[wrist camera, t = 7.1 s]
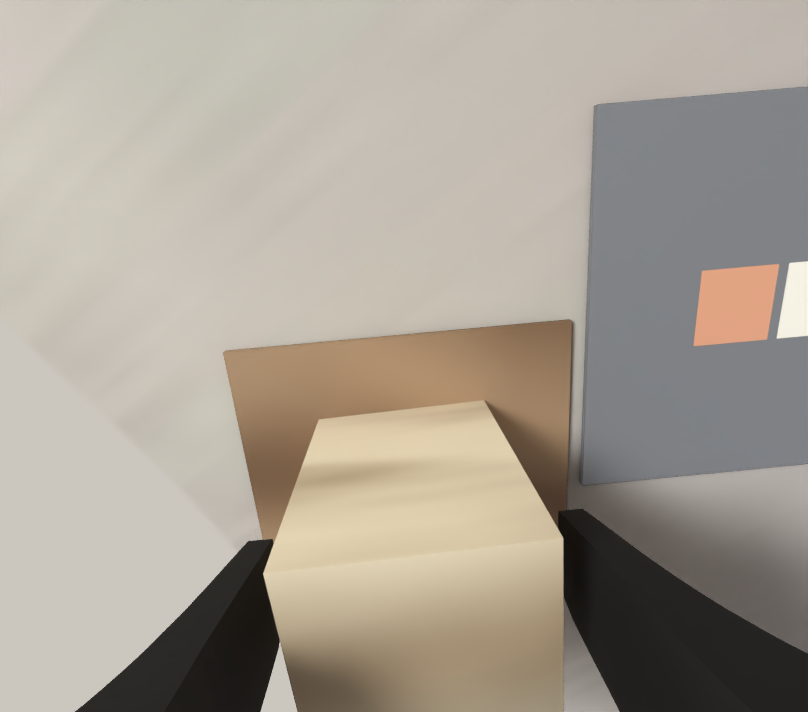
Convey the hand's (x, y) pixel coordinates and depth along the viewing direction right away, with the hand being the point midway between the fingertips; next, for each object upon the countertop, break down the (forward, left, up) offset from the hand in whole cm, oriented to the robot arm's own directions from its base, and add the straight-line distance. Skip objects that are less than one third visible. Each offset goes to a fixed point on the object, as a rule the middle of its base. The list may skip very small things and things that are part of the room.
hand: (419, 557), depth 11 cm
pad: (0, 0, -3) cm, 3 cm away
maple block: (0, 0, -3) cm, 3 cm away
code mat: (+5, -11, -3) cm, 12 cm away
